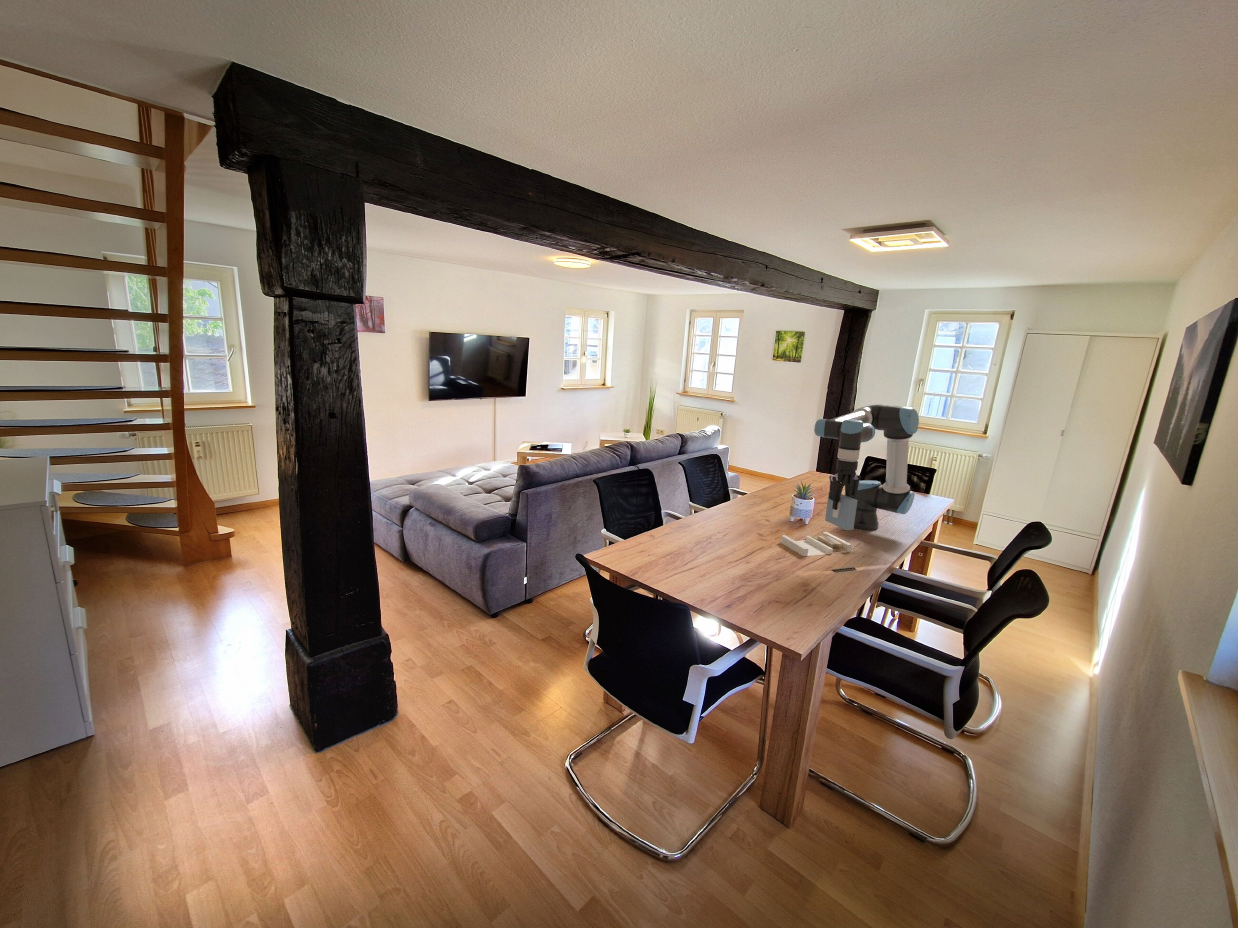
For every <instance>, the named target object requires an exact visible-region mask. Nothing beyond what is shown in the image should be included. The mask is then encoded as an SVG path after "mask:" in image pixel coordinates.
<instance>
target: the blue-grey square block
mask: <svg viewBox="0 0 1238 928" xmlns="http://www.w3.org/2000/svg"><path fill="white" fill-rule="evenodd" d="M857 501H858V500H856V499H853V498H851V497H848V496H845V494H842V493H841V497H840V500H839V502H841V504H840V512H839V518H835V517H833V516H832V515H833V509H832V506H833V500H830V499H829V492H828V494H827V502H826V509H825V517H824V521H825V522H827V523H830V524H832V525H834V526H836V527H838V528H840V529H842V530H845V531H853V530H854V529H855V527H854V522H855V515H856V508H857Z"/></svg>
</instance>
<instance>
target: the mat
mask: <svg viewBox="0 0 1238 928" xmlns="http://www.w3.org/2000/svg"><path fill="white" fill-rule="evenodd" d="M831 571H832V572H833V573H835V574H836V573H837V574H838V573H844V572H845V573H846V572H853V571H857V568H855V567H845V568H835V569H831Z"/></svg>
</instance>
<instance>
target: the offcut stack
mask: <svg viewBox="0 0 1238 928" xmlns="http://www.w3.org/2000/svg"><path fill="white" fill-rule="evenodd" d="M812 538H814V539H816V540H817V541H819V542H821V543H823V544H825V545H827V546H828V547H830V548H832V549H833V552H842V551H845V549H844V548H842V544H841V543H840V542H838V541H836V540H835V539H833V538H831V537H829V536H823V535H817V536H812Z"/></svg>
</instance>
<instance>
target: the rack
mask: <svg viewBox="0 0 1238 928" xmlns="http://www.w3.org/2000/svg"><path fill="white" fill-rule="evenodd" d="M822 536H829V537H831V538H833V539H835V540H836V541H838V542H840V543H841V544H842V548H844V549H845V551H842V552H833V549H832V548H830V547H828V546H827V545H825V544H823V543H821V542H819V541H817V540H816V539H814V538H812V537H813V536H812V537H811V536H810V535H805V539H803V540H794V539H793V538H790V537H789V536H787V535H786V534H784V535H781V536H780V543H781V544H782V545H784V546H785V547H788V548H789V549H790V550H792V551H794V552H795V553H798V554H799V555H800V556H802V557H812V556H820V555H821V556H822V555H830V554H831V555H832V554H840V553H844V554H845V553H852V547H853V544H851V543H849V542H848V541H846V540H844V539H841V538H839V537H838V536H835V534H832V533H830V532H827V531H823V532H822Z"/></svg>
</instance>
